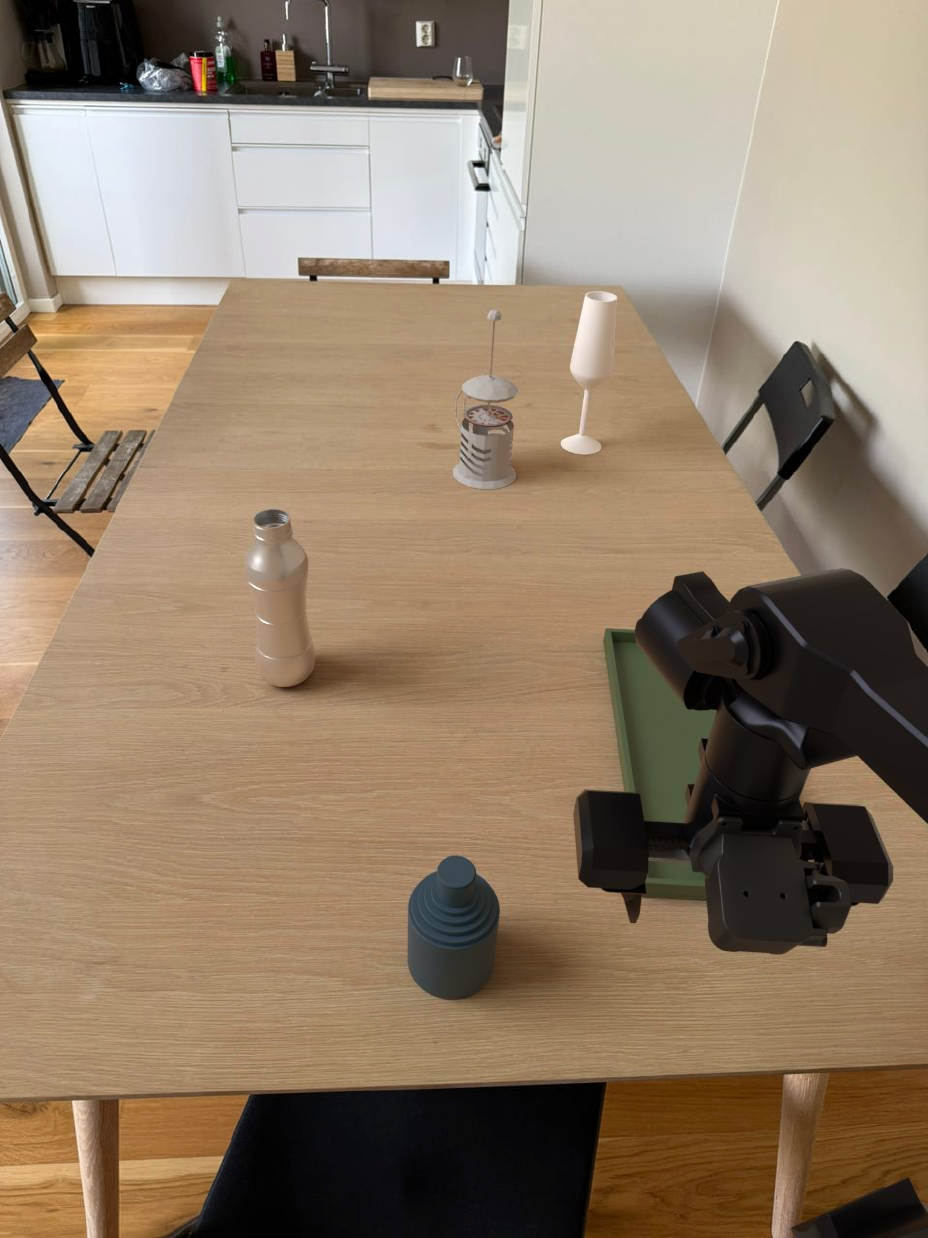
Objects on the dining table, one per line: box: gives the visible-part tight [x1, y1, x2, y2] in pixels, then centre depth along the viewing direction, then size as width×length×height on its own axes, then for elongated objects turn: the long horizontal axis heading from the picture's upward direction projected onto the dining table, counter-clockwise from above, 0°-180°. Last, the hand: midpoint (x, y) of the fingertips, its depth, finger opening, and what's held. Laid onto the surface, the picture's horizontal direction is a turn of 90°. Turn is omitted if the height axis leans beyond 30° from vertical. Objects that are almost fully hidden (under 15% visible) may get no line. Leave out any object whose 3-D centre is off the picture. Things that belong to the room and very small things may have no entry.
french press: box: [452, 309, 519, 490], centre depth 129 cm, size 10×12×25 cm
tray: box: [602, 627, 717, 901], centre depth 91 cm, size 35×15×2 cm, turn 178°
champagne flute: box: [560, 290, 618, 456], centre depth 138 cm, size 7×7×24 cm
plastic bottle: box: [243, 508, 317, 688], centre depth 92 cm, size 6×7×20 cm
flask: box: [407, 854, 501, 1000], centre depth 68 cm, size 7×7×12 cm
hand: (699, 921), depth 61 cm, fingers open, 9 cm apart
